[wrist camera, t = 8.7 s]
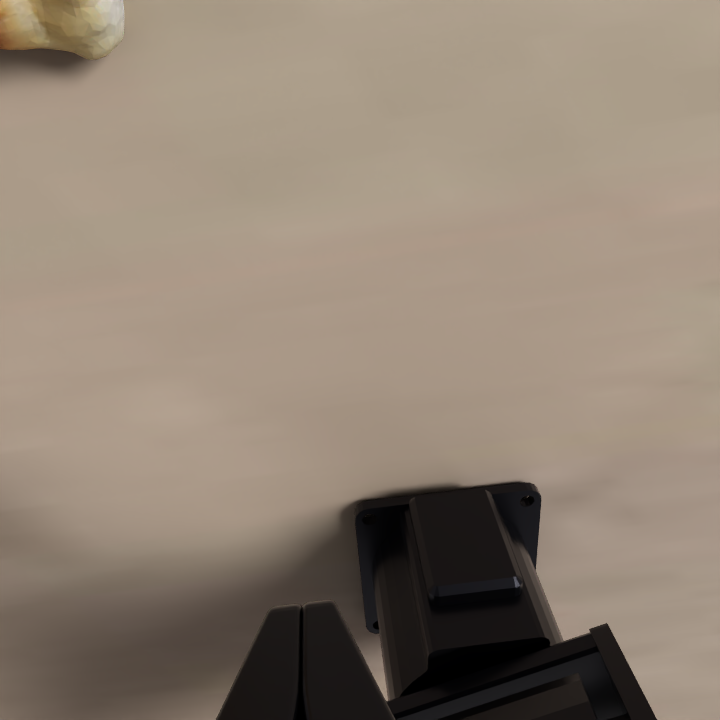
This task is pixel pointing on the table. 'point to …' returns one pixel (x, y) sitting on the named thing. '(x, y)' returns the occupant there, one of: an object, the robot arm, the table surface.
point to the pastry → (62, 25)
